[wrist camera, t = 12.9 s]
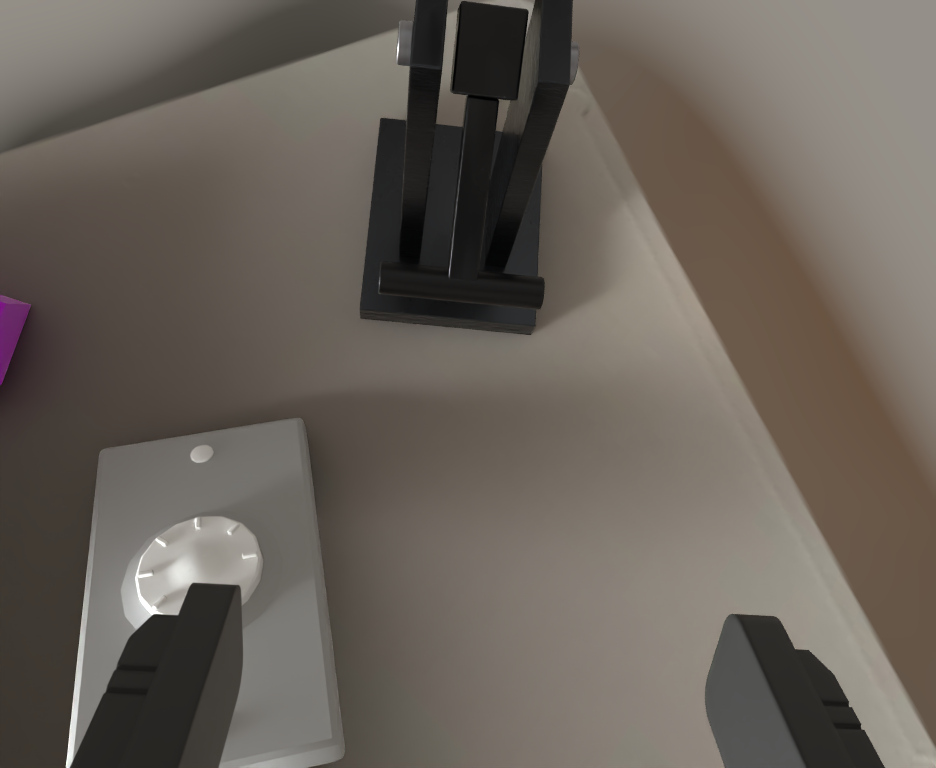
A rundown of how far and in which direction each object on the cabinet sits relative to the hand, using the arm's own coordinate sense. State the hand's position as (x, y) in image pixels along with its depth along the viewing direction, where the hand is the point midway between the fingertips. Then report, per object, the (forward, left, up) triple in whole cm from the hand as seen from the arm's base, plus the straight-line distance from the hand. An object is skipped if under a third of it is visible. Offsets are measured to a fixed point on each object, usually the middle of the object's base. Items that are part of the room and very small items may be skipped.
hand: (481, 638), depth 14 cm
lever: (-9, -14, -12) cm, 21 cm away
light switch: (+6, -5, -23) cm, 24 cm away
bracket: (-10, -16, -22) cm, 29 cm away
